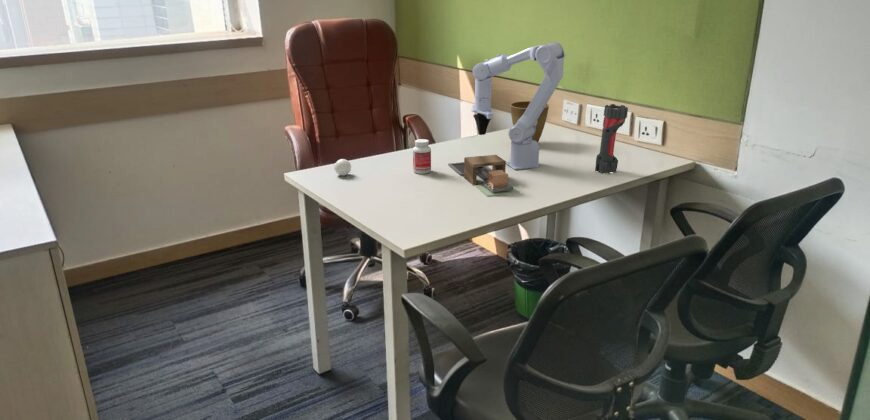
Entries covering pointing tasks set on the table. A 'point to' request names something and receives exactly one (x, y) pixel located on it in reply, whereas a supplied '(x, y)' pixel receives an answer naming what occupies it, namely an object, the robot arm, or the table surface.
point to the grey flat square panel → (460, 168)
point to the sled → (495, 180)
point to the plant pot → (519, 110)
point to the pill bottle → (422, 157)
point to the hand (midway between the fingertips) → (482, 134)
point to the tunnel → (481, 165)
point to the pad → (490, 193)
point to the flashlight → (610, 137)
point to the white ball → (342, 167)
